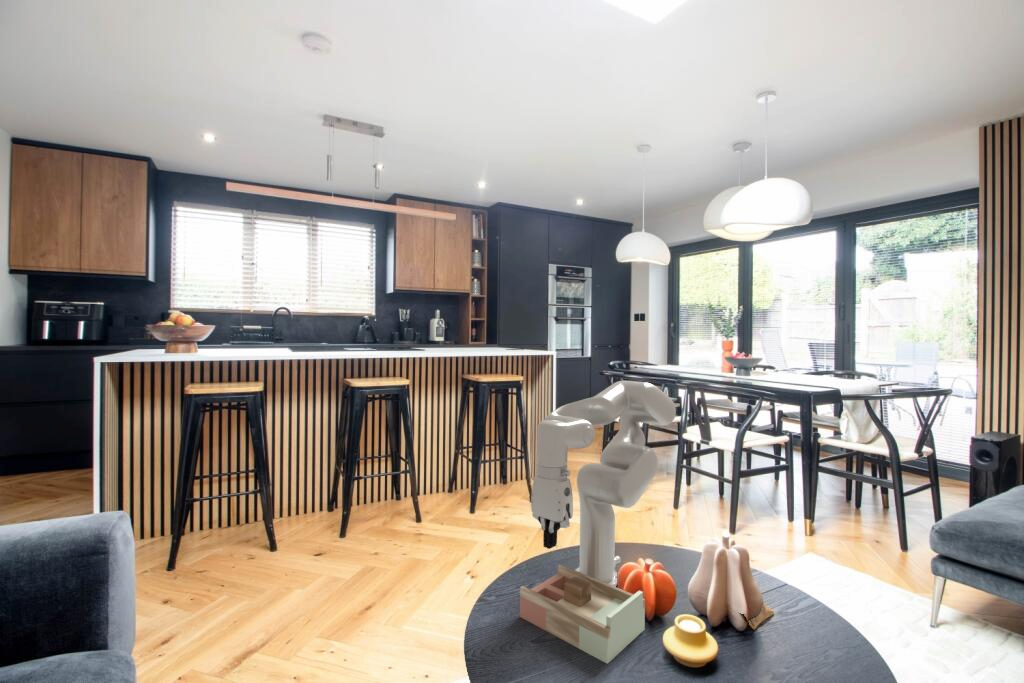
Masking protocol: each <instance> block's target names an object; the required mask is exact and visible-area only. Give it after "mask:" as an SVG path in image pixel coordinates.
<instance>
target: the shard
mask: <svg viewBox="0 0 1024 683" xmlns="http://www.w3.org/2000/svg"><path fill="white" fill-rule="evenodd" d="M774 614H775V611H774V610H773V609H771V608H770V607H769V606H767V605H766V604H763V609H762V611H761V613H760V614H759V615H758V616H757V617H756V618H753V619H751V620H749V624H748V625H749V626H750V627H751V629H753V631H754V630H756V629H757V628H758V627H759V626H760V624H762V623H763V622H764V621H766V620H767V619H768V618H770V617H771V616H773V615H774Z"/></svg>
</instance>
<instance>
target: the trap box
mask: <svg viewBox="0 0 1024 683" xmlns="http://www.w3.org/2000/svg"><path fill="white" fill-rule="evenodd" d="M557 569H558V570H557V574H555V575H553V576H552V577H549V578H548V579H546V580H544V581H543V582H541V583H540V584H538V585H536V586H535V587H533V588H531V589H530V588H528V587H526V586H524V585H521V586H519V618H520V619H523V620H525V621H527V622H529V623H531V624H532V625H534V626H536V627H538V628H540V629H542V630H544V631H545V632H548V633H549V634H551V635H553V636H555V637H557V638H558V639H560V640H562V641H564V642H567V643H568V644H570V645H572V646H573V647H575V648H577V649H578V650H581V651H583V652H584V653H586V654H588V655H590V656H593V657H594V658H596V659H598V660H599V661H601V662H603V663H605V664H606V665H607V664H609V663H610V662H611V661H613V660H614V659H615V657H617V656H618V655H619V654H620V653H621V652H622V651H623V650H625V649H626V647H627V646H628V645H629V644H631V643H632V642H633V641H634V640H635V639H636V638H638V636H639V635H640V634H642V633H643V631H645V629H646V628H645V626H646V625H645V624H646V622H645V621H646V619H645V618H646V616H645V615H646V598H644V591H641V590H638V591H636V592H635V593H631V592H628V591H627V590H624V589H622V588H619V587H618V586H617V587H614V586H612V585H609V584H607V583H605V582H602V581H600V580H597V579H595V578H592V577H590V576H587V575H585V574H582V573H580V572H578V571H575V570H576V569H572V568H569V567H567V566H565V565H563V564H559V565H558V567H557ZM575 576H576V577H578V578H581V579H583V580H586V581H588V582H590V583H591V600H590V601H589V602H587V603H586V604H585V605H583V606H582V607H578V606H576V605H573V604H571V603H569V602H567V601H565V600H564V583H565V582H567V581H569V580H570V579H572V578H574V577H575Z"/></svg>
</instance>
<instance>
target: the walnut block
mask: <svg viewBox="0 0 1024 683" xmlns="http://www.w3.org/2000/svg"><path fill="white" fill-rule="evenodd" d="M564 600H565V601H567V602H569V603H571V604H573V605H576V606H578V607H582V606H583V605H585V604H586V603H587V602H589V601H590V600H591V583H590V582H588V581H586V580H583V579H581V578H578V577H576V576H575V577H574V578H572V579H570V580H569V581H567V582H565V583H564Z"/></svg>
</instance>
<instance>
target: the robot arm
mask: <svg viewBox="0 0 1024 683" xmlns="http://www.w3.org/2000/svg"><path fill="white" fill-rule="evenodd" d="M676 412H677V410H676V405H675V403H674V401H673V400H672V398H671V397H669V396H668V395H667V394H666V393H665V392H663V391H662V390H661V389H660V388H658V387H657V386H656V385H655V384H652V383H649V382H644V381H634V380H619V381H616V382H614V383H612V384H610V385H609V386H608V387H606V388H604V390H602V391H600V392H598V393H597V394H596V395H594V396H592V397H588V398H584V399H581V400H577V401H573V402H570V403H567V404H564V405H561V406H559V407H558V408H556V409H555V410H553V411H551V412H550V413H548V414H547V416H546V417H545V418H544V420H541V421H540V422H539V423H538V425H537V430H536V432H537V435H536V470H535V471H536V474H534V477H533V481H532V488H531V497H530V509H531V512H532V517H533V518H534V519H535V520H537V521H538V523H540V528H541V530H542V531H543V537H542V538H543V539H542V540H543V542H542V543H543V548H546V549H548V550H550V549H552V548H554V547H556V546H557V543H558V531H559V530H560V529H567V528H569V527H570V526H571V525H570V523H571V522H570V519H572V518H573V516H574V502H573V501H574V498H573V490H572V489H573V488H572V482H571V479H570V478H569V477H570V476H571V471H570V470H568V456H569V455H568V450H573V449H574V450H579V449H582V450H583V449H585V448H587V447H589V446H591V444H592V443H593V442H594V440H595V437H596V431H595V430H596V429H595V427H600V426H605V425H606V426H607V425H610V424H611V423H613V422H614V421H616V420H617V419H618V418H619V429H618V431H617V432H616V434H615V435H614V436H613V438H612V439H611V440H610V442H608V444H607V445H606V447H605V448H604V449H603V450H602V452H601V454H600V459H599V462H600V463H586V464H584V465H582V466H581V468H580V469H579V471H578V472H577V475H576V486H577V488H576V489H577V494H578V499H579V511H580V512H579V566H578V567H577V568H575V569H574V570H575V571H578V572H580V573H582V574H585V575H587V576H590V577H592V578H595V579H597V580H600V581H602V582H605V583H607V584H609V585H612V586H614V587H616V584H617V573H618V572H617V571H616V566H617V565H618V564H620V563H621V562H622V559H621V556H619V555H615V553H616V552H615V551H616V550H615V548H616V543H615V542H616V541H615V540H616V516H615V512H614V508H613V506H616V507H619V508H622V509H623V508H624V509H629V508H633V507H634V506H635V505H636V504H637V503H638V501H639V500H640V499H641V497H642V496H643V494H644V493H645V491H646V490H647V489H648V487H649V485H650V484H651V482H652V481H653V479H654V478H655V475H656V474H657V471H658V463H659V461H658V456H657V453H656V452H655V450H654V449H652V448H651V447H649V446H648V445H647V446H646V436H645V434H644V431H643V430H642V428H641V426H640V423H642V424H648V425H655V426H663V427H664V426H669V425H671V423H673V422H674V421H675V418H676Z"/></svg>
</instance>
